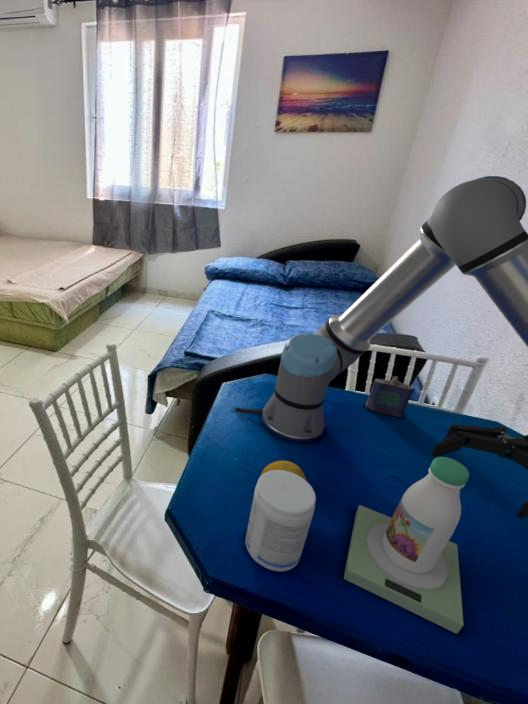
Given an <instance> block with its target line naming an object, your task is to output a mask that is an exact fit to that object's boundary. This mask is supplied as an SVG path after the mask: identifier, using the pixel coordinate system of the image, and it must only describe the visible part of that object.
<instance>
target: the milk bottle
mask: <svg viewBox="0 0 528 704" xmlns="http://www.w3.org/2000/svg"><path fill="white" fill-rule="evenodd" d="M469 478H470V471H469V469H468V468H467V467H466V466H465V465H463V464H462V463H461V462H459V461H458V460H456V459H453V458H451V457H447V456H439V457H436V458H435V457H434V459H433V460H432V461H431V463H430V466H429V468H428V473H427V474H426V475H425V476H424V477H423V478H421V479H420V480H417V481H416V482H415V483H412V485H410V486H409V487H408V488H407V489H406V491H405V492H404V493H403V495H402V497H401V498H400V501H399V502H398V505H397V507H396V509H395V511H394V513H393V515H392V517H391V518H392V519H391V521H390V524H389V526H388V528H387V530H386V532H385V534H384V537H383V540H382V544H383V548H384V551H385V553H386V555H387V556H388V557H389V558H390V559H391V560H392V561H393V562H394V563H395V564H396V565H398V566H399V567H401V568H402V569H405V570H407V571H409V572H412V573H421V574H422V573H426V572H429V571H430V570H431V569H432V568H433V567H434V565H435V564H436V562H437V560H438V558H439V557H440V555H441V553H442V552H443V550H444V548H445V546H446V545H447V543H448V541H450V539H451V538H452V536H453V534H454V533H455V530H456V528H457V526H458V524H459V521H460V520H461V515H462V505H461V495H460V494H461V489H463V488H464V487H465V486H466V484H467V482H468V481H469Z"/></svg>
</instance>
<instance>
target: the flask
mask: <svg viewBox="0 0 528 704" xmlns="http://www.w3.org/2000/svg"><path fill="white" fill-rule="evenodd" d="M391 378H392V379H390V380H388V379H382V378H375V379H374V381H373V383H372V386H371V389H370V391H369V394H368V398H367V399H366V403H365V409H368V410H370V411H373V412H378V413H382V414H387V415H391V416H395V417H397V418H401V417H403V415H404V414H405V411H406V408H407V407H408V403H409V401H410V399H411V397H412V394H413V392H414V388H413V386H412V385H409V384H407V383H405V382H404V383H402V382H401V381H400V380H398V379H399V377H398V376H396V375H393V376H392V377H391Z"/></svg>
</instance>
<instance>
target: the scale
mask: <svg viewBox="0 0 528 704" xmlns="http://www.w3.org/2000/svg"><path fill="white" fill-rule="evenodd" d="M391 519H392V517H390V516H388V515H386V514H383V513H381V512H378V511H376V510H373V509H371V508H369V507H366V506H364V505H361V504H359V505H358V507H357V510H356V512H355V517H354V521H353V527H352V533H351V537H350V543H349V547H348V548H349V549H348V553H347V558H346V564H345V569H344V575H343V580H345V581H347V582H349V583H352V584H353V585H356V586H358V587H360V588H362V589H364V590H365V591H368V592H369V593H372V594H373V595H376V596H378V597H379V598H382V599H384V600H386V601H388V602H390V603H392V604H394V605H397V606H399V607H401V608H403V609H404V610H407V611H409V612H411V613H413V614H415V615H417V616H419V617H421V618H423V619H425V620H427V621H429V622H431V623H433V624H436V625H438V626H440V627H442V628H444V629H446V630H448V631H450V632H451V633H453V634H456V635H458V634H459V632H460V631H461V630H462V628H463V627H464V624H465V623H464V613H463V599H462V587H461V576H460V575H461V573H460V560H459V550H458V544H457V543H455V542H452V541H451V540H449V541H448V543H447V545H446V546H445V548H444V550H443V552H442V553H441V555H440V557H439V558H438V560H437V562H436V564H435V565H434V567H433V568H432V569H431V570H430V571H429V572H426V573H422V574H421V573H412V572H409V571H407V570H405V569H402V568H401V567H399V566H398V565H396V564H395V563H394V562H393V561H392V560H391V559H390V558H389V557H388V556H387V555H386V553H385V551H384V548H383V544H382V540H383V537H384V534H385V532H386V530H387V528H388V526H389V524H390V521H391Z"/></svg>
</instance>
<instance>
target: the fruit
mask: <svg viewBox="0 0 528 704" xmlns="http://www.w3.org/2000/svg"><path fill="white" fill-rule="evenodd" d="M273 470H283V471H288V472H291V473H294V474H296V475H298V476H300V477H301V478H303V479H304V480H306V481H307V478H306V475H305V473H304V472H303V470H302V469H301V468H300V466H299V465H297V464H296V463H294V462H291V461H289V460H276V461H273V462H271V463H269V464H267V465H266V466H265V467H264V468H263V470H262V471H261V474H260V476H261V475H263V474H264V473H266V472H268V471H273Z"/></svg>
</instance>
